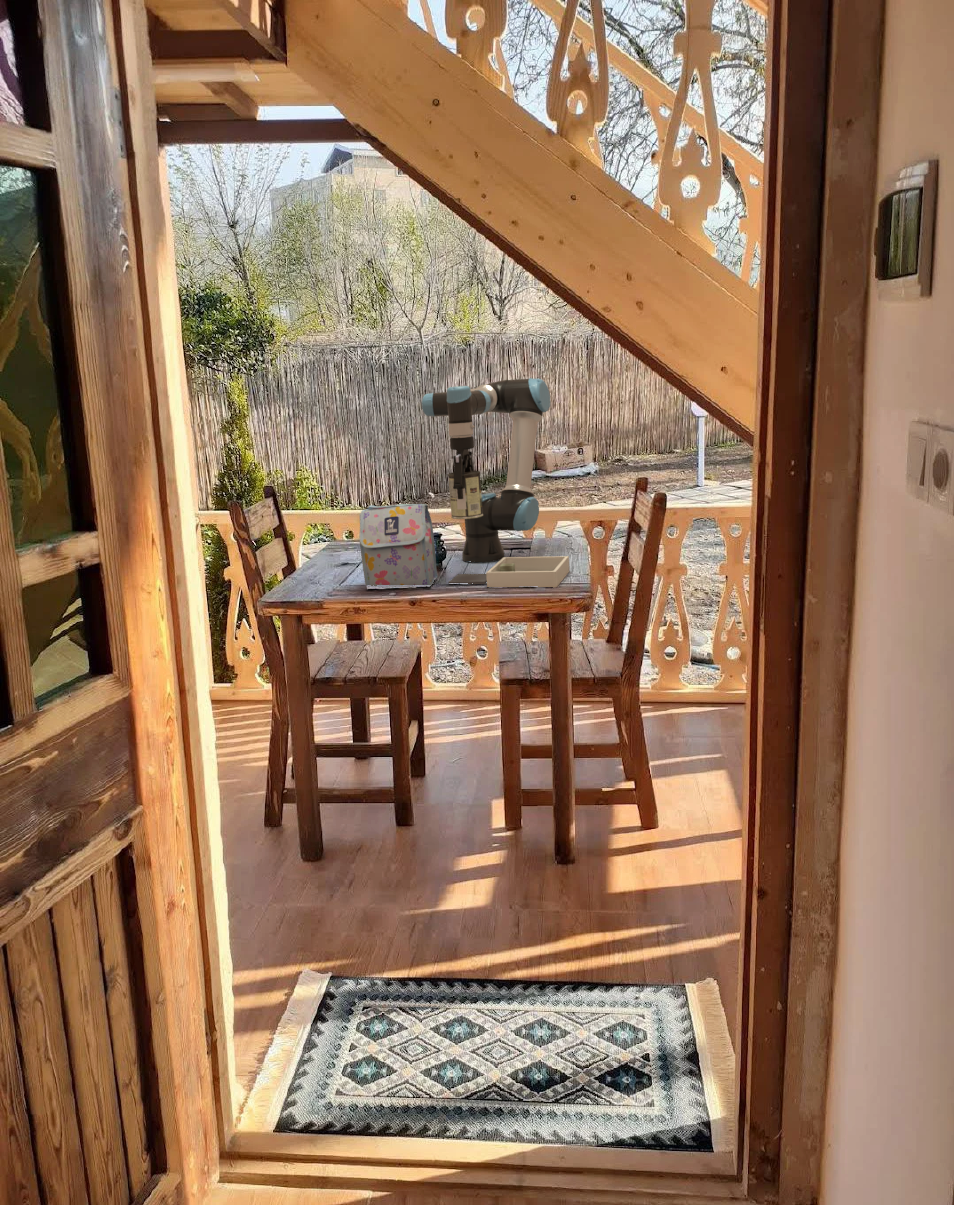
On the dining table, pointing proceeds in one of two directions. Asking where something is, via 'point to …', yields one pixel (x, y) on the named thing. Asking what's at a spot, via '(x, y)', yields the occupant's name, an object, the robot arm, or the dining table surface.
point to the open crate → (529, 572)
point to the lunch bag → (397, 545)
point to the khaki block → (507, 567)
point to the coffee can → (467, 496)
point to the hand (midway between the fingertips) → (466, 506)
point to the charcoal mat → (470, 579)
